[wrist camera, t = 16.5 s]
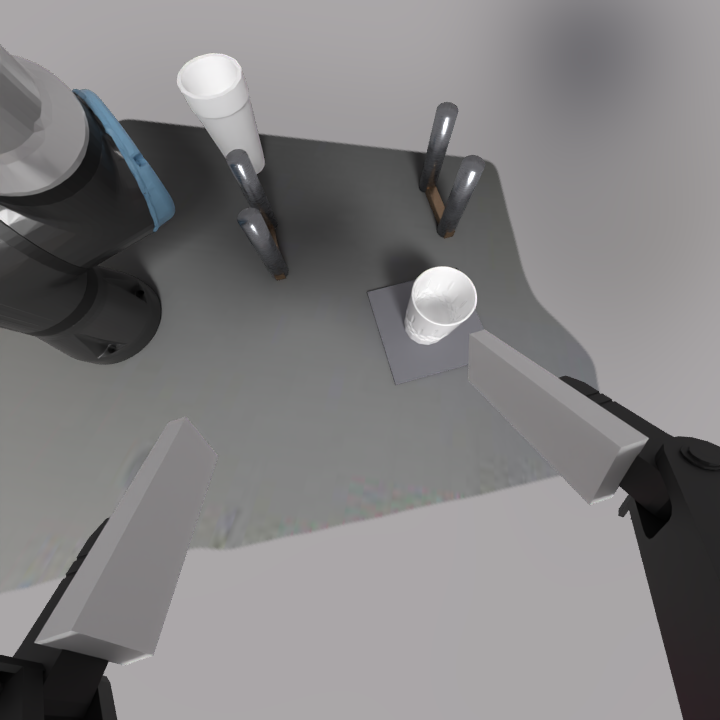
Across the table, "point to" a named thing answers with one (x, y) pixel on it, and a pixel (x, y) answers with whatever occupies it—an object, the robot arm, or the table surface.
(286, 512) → the table surface
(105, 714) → the robot arm
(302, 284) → the table surface
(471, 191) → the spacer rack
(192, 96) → the foam cup
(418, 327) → the white cup
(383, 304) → the mat
